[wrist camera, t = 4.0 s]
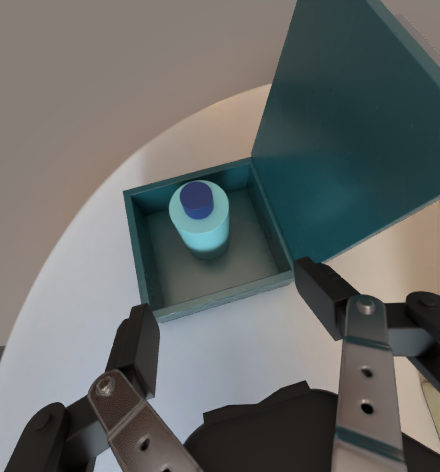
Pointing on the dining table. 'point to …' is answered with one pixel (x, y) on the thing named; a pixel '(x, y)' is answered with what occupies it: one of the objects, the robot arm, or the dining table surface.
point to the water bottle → (201, 218)
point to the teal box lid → (349, 126)
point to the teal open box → (213, 270)
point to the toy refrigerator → (433, 403)
